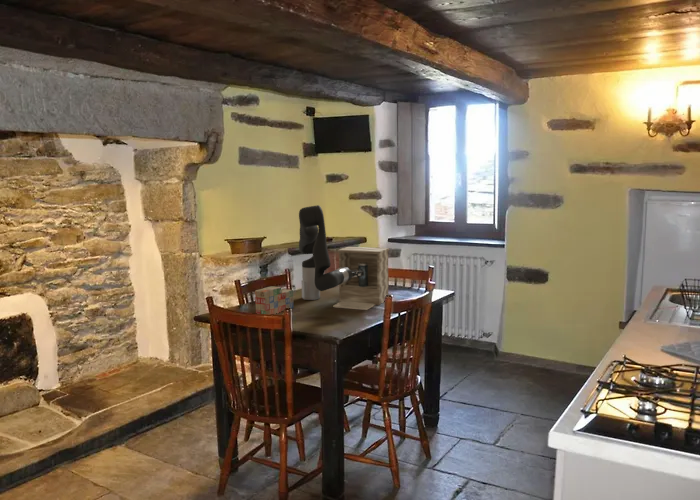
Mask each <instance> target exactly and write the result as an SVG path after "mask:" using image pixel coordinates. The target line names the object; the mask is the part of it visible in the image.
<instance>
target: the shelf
mask: <svg viewBox="0 0 700 500" xmlns="http://www.w3.org/2000/svg"><path fill="white" fill-rule="evenodd" d="M389 251H390V248H388V247H363V246H347V247H346V246H345V247H343V248H340V249H338V250H337V253H338V269H339V268H341V267H347V268H349V269H350V270H358V263H361V262H366V263H368V286H367V287H360V286H359V283H358V277H352V278H351V280H350V281H348V282H346V283H344V284H341V285H338V287H339V290H338V291H339V293H338V294H339V302H341V301H346V302H359V303H372V304H375V305H377V306H380V305H382V304H383V303H384V299H385V296H386V295H388V296H389ZM353 272H355V271H353ZM381 303H382V304H381ZM375 305H374V306H375Z"/></svg>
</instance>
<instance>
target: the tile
mask: <svg viewBox="0 0 700 500" xmlns="http://www.w3.org/2000/svg"><path fill="white" fill-rule="evenodd" d="M332 306H333V308H337V309H339V308H340V309H351V310H363V311H368V310H369V309H371V308H372V307H374V306H375V304H372V303H359V302H346V301H341V302H340V301H339V302H337V303H336V304H334V305H332Z"/></svg>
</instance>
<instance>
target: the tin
mask: <svg viewBox="0 0 700 500" xmlns="http://www.w3.org/2000/svg"><path fill="white" fill-rule="evenodd" d="M361 269H363V271H364V276H361V277H358V283H359V286H360V287H367V286H368V263H366V262H361V263H358V270H361Z"/></svg>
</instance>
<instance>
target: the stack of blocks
mask: <svg viewBox="0 0 700 500" xmlns="http://www.w3.org/2000/svg"><path fill="white" fill-rule="evenodd" d="M254 295H255V297H254V301H255V302H254V303H255V314H256V313H257V314H274V315H277V314H279V312H280V313H282V312H281V311H282V310H284V309H285V308H291V309H290V310H292V309H294V290H293V289H286V288H282V286H274V285H273V286H272V285H271V286H267V287H264V288H259V289H256V290H254ZM276 313H277V314H276Z"/></svg>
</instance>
